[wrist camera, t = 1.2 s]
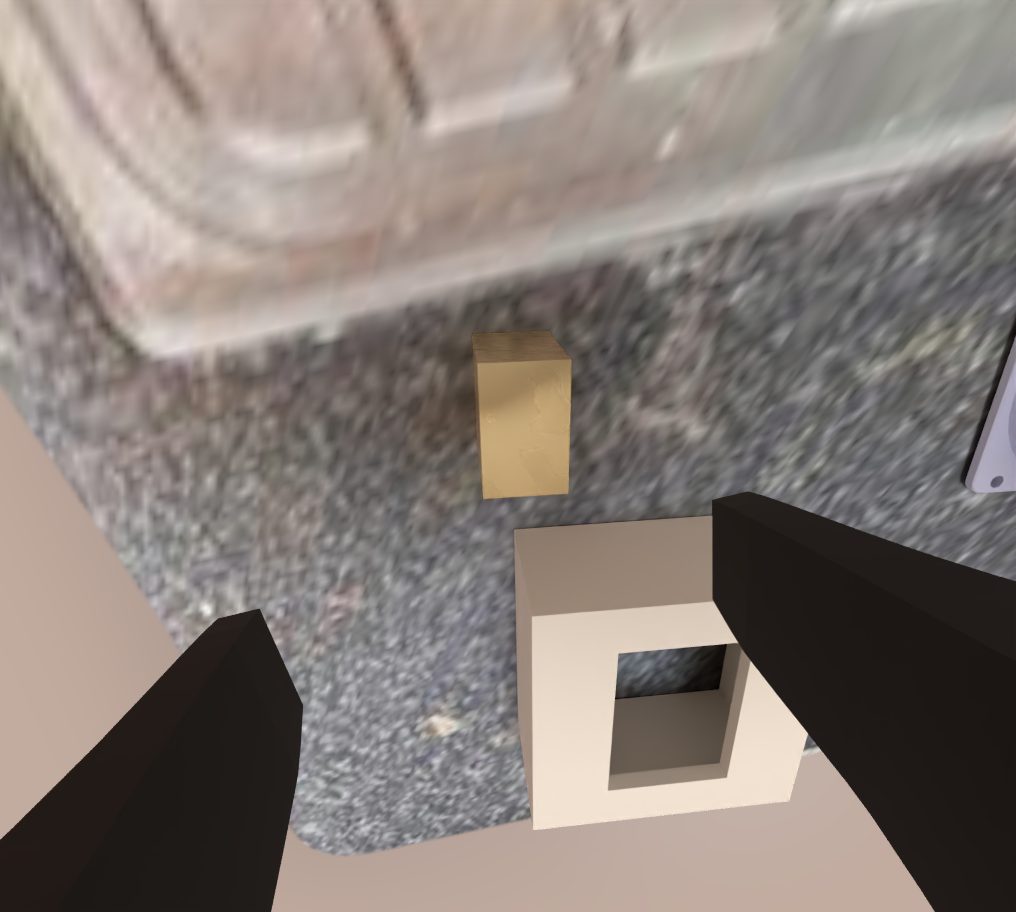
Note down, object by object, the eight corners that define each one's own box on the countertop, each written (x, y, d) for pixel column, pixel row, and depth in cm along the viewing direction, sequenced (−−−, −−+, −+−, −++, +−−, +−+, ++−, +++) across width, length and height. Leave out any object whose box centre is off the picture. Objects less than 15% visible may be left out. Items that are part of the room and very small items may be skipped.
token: (547, 330, 18) (571, 359, 15) (546, 442, 20) (568, 493, 16) (471, 332, 18) (476, 363, 14) (477, 446, 20) (483, 499, 16)
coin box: (765, 512, 22) (847, 590, 17) (729, 697, 26) (789, 800, 21) (514, 529, 21) (531, 616, 17) (517, 718, 25) (533, 830, 21)
